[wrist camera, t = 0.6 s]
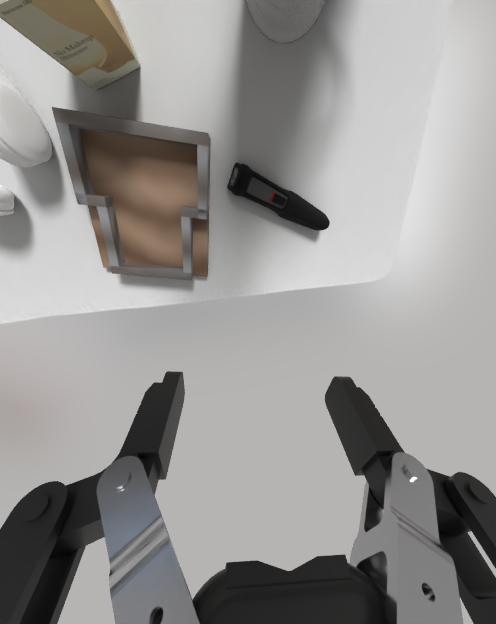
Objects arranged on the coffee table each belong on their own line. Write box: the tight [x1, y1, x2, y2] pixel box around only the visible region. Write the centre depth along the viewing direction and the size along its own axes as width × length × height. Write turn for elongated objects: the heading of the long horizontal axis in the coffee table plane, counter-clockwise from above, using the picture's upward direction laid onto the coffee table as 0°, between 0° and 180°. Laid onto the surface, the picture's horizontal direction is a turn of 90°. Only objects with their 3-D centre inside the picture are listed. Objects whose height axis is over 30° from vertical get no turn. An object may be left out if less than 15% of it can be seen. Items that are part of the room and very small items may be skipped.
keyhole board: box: [52, 107, 210, 280], centre depth 29 cm, size 18×16×3 cm
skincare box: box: [0, 0, 140, 90], centre depth 17 cm, size 6×4×12 cm
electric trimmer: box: [227, 163, 330, 230], centre depth 29 cm, size 4×16×3 cm, turn 65°
